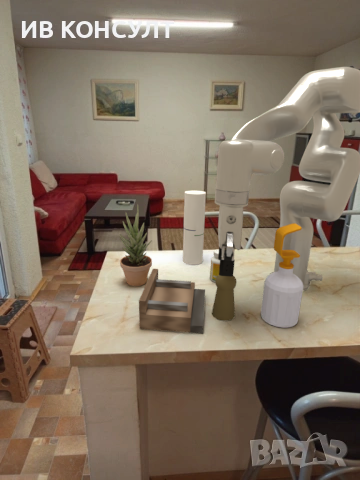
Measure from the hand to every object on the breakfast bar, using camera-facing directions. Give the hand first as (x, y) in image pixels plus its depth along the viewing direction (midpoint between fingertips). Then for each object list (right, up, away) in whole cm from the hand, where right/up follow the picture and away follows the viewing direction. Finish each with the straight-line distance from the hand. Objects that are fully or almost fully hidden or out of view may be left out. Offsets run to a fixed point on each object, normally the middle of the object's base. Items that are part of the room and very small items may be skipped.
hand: (225, 267), depth 77 cm
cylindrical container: (-6, -1, +38) cm, 38 cm away
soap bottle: (+14, -13, +4) cm, 20 cm away
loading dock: (-12, -12, +6) cm, 18 cm away
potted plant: (-24, -6, +21) cm, 33 cm away
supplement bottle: (+1, -6, +24) cm, 25 cm away
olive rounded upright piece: (0, -13, +5) cm, 14 cm away
